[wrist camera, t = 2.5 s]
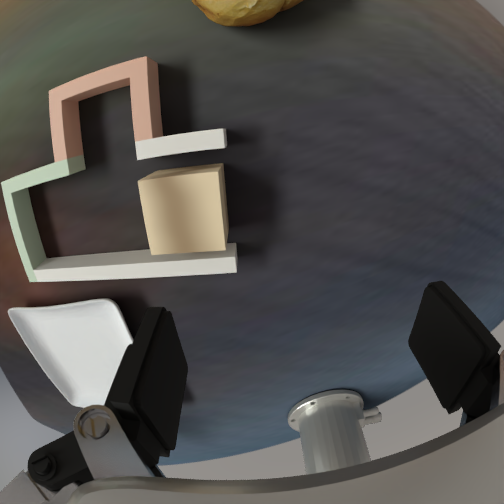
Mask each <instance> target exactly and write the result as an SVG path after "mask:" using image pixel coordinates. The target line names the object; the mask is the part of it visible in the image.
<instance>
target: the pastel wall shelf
mask: <svg viewBox="0 0 504 504" xmlns="http://www.w3.org/2000/svg"><path fill="white" fill-rule="evenodd" d="M129 85H130V90H131V104H132V116H133V127H134V136H135V145H136V153H137V160H140V159H145V158H151V157H157V156H164V155H170V154H177V153H185V152H192V151H201V150H209V149H219V148H225V147H226V146H227V136H226V129H214V130H205V131H197V132H190V133H183V134H176V135H169V136H163V129H162V119H161V107H160V94H159V79H158V63H156V62H155V61H153V60H152V59H150V58H149V57H147V56H145V57H141V58H138V59H134V60H130V61H127V62H123V63H120V64H117V65H114V66H110V67H107V68H104V69H101V70H99V71H96V72H93V73H90V74H87V75H85V76H82V77H80V78H77V79H75V80H72V81H70V82H68V83H65V84H63V85H61V86H58V87H56V88H54V89H52V90H50V91H49V108H50V123H51V134H52V143H53V151H54V158H55V163H52V164H49V165H46V166H43V167H40V168H37V169H35V170H32V171H29V172H26V173H24V174H21V175H18V176H16V177H13V178H11V179H8V180H6V181H4V182H1V185H2V190H3V195H4V199H5V204H6V208H7V212H8V216H9V220H10V224H11V228H12V231H13V235H14V238H15V241H16V244H17V248H18V251H19V254H20V257H21V259H22V262H23V265H24V268H25V270H26V273H27V276H28V278H29V281H30V282H50V281H81V280H107V279H129V278H150V277H169V276H187V275H204V274H220V273H235V272H237V248H236V243H227V245H226V250H221V251H206V252H191V253H176V254H161V255H151V250H150V249H148V250H136V251H124V252H112V253H100V254H89V255H77V256H66V257H55V258H46V255H45V252H44V249H43V245H42V242H41V239H40V235H39V232H38V228H37V225H36V221H35V217H34V213H33V209H32V205H31V200H30V196H29V191H28V187H30V186H34V185H37V184H40V183H43V182H47V181H50V180H53V179H57V178H61V177H64V176H68V175H71V174H74V173H76V172H79V171H82V170H85V169H86V167H85V161H84V154H83V146H82V138H81V128H80V117H79V103H78V101H81V100H84V99H86V98H89V97H92V96H95V95H98V94H101V93H105V92H108V91H111V90H115V89H118V88H122V87H125V86H129Z"/></svg>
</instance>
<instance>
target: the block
mask: <svg viewBox="0 0 504 504" xmlns="http://www.w3.org/2000/svg"><path fill="white" fill-rule="evenodd" d="M138 185H139V192H140V198H141V204H142V210H143V215H144V221H145V226H146V231H147V236H148V241H149V246H150V250H151V255H161V254H176V253H191V252H206V251H221V250H226V245H227V238H228V231H229V223H228V213H227V201H226V190H225V178H224V166H223V163H220V164H209V165H199V166H190V167H182V168H173V169H166V170H158V171H156V172H154V173H152V174H150V175H148V176H146V177H144V178H142V179H141V180H139V181H138Z"/></svg>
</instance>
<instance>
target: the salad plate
mask: <svg viewBox="0 0 504 504" xmlns="http://www.w3.org/2000/svg"><path fill="white" fill-rule="evenodd" d="M8 314H9V316H10V318H11V320H12V322H13V324H14V326H15V327H16V329H17V331H18V332H19V334H20V336H21V337H22V339H23V341H24V342H25V344H26V345H27V347H28V349H29V350H30V352H31V353H32V355H33V356H34V358H35V359H36V360H37V362H38V363H39V365H40V366H41V368H42V369H43V370H44V372H45V373H46V374H47V376H48V377H49V378H50V380H51V381H52V382H53V383H54V385H55V386H56V387H57V388H58V390H59V391H60V392H61V393H62V394H63V395H64V397H65V398H66V399H67V400H68V401H69V402H70V403H71V404H72V405H74V406H77V407H84V408H85V407H87V406H90V405H103V406H104V404H105V401H106V398H107V396H108V393H109V390H110V388H111V385H112V382H113V380H114V377H115V375H116V372H117V370H118V367H119V365H120V362H121V360H122V357H123V355H124V353H125V350H126V348H127V346H128V345H129V344H132V343H133V341H134V340H133V338H132V336H131V334H130V331H129V329H128V327H127V324H126V322H125V320H124V317H123V315H122V312H121V310H120V308H119V306H118V305H117V303H116V302H114V301H113V300H111V299H109V298H102V299H93V300H87V301H81V302H75V303H70V304H63V305H54V306H45V307H15V308H10V309H9V310H8Z"/></svg>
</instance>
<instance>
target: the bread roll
mask: <svg viewBox="0 0 504 504" xmlns="http://www.w3.org/2000/svg"><path fill="white" fill-rule="evenodd" d="M302 1H304V0H192V2H193V4H195V5H196V6H198V7H199V8H200V9H201V10H202V11H203V12H204V13H205V14H206V16H207V17H208V19H210V20H212V21H213V22H215V23H217V24H220V25H223V26H251V25H255V24H258V23H263V22H265V21H266V20H269V19H271V18H272V17H274V16H275V15H276V14H277V13H278V12H281V11H284V10H287V9H290V8H291V7H293V6H295V5H297V4H298V3H300V2H302Z"/></svg>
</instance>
